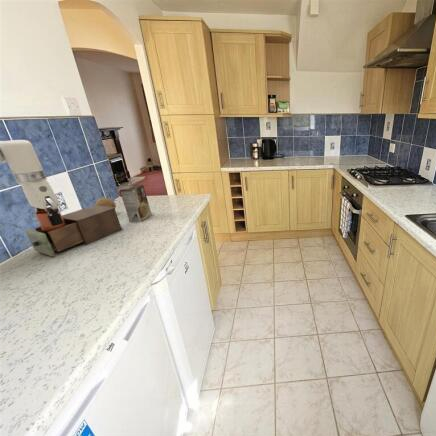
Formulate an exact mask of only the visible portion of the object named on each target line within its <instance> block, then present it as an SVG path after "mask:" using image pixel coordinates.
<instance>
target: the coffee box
mask: <svg viewBox="0 0 436 436" xmlns="http://www.w3.org/2000/svg"><path fill="white" fill-rule="evenodd" d="M144 186H145V185H144V184H130V185H128V186H126V187H124V188H122V189H119V190H118V191H119V194H120V197H121V199H122V203H123V205H124V208H125V212H126V215H127V218H128V221H129V222H143V221H145V220H146V219H147V218H148V217H150V216H152V211H151V207H150V204H149V201H148V197H147V193H146V191H145V187H144Z"/></svg>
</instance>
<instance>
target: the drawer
mask: <svg viewBox="0 0 436 436" xmlns="http://www.w3.org/2000/svg"><path fill="white" fill-rule="evenodd" d="M63 220H64V222H65V225H64V226H63V227H60V228H57V229H54V230H47V231H44V230H42V228H41V226H40V225H39V226H37V227H34V230H33V229H31V228H27V229H24V233H25V234H26V236H27V238H28V240H29V242H30V244H31V246H32V248H33V250H34V252H37V253H41V254H43V255H46V256H50V257H53V256H56V253H55V252H57V253H59V252H61V251H62V252H63V251H64V250H67V249H68V248H71V247H74V246H76V245H79V244H82V243H81V242H84V239H83V237H82V234H81V232H80V229H79V227H78V225H77V222H73V221H69V220H65V219H63Z"/></svg>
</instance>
